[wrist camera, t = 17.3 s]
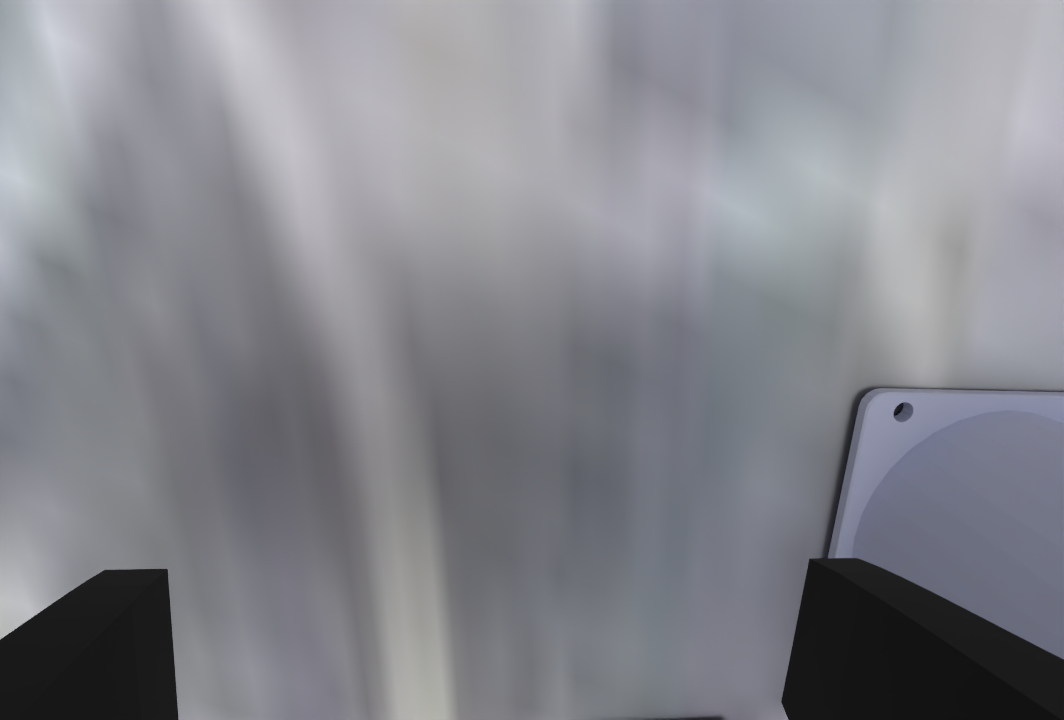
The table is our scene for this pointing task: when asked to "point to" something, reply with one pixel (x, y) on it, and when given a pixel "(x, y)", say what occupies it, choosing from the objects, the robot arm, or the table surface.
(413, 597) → the table surface
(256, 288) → the table surface
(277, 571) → the table surface
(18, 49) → the table surface
